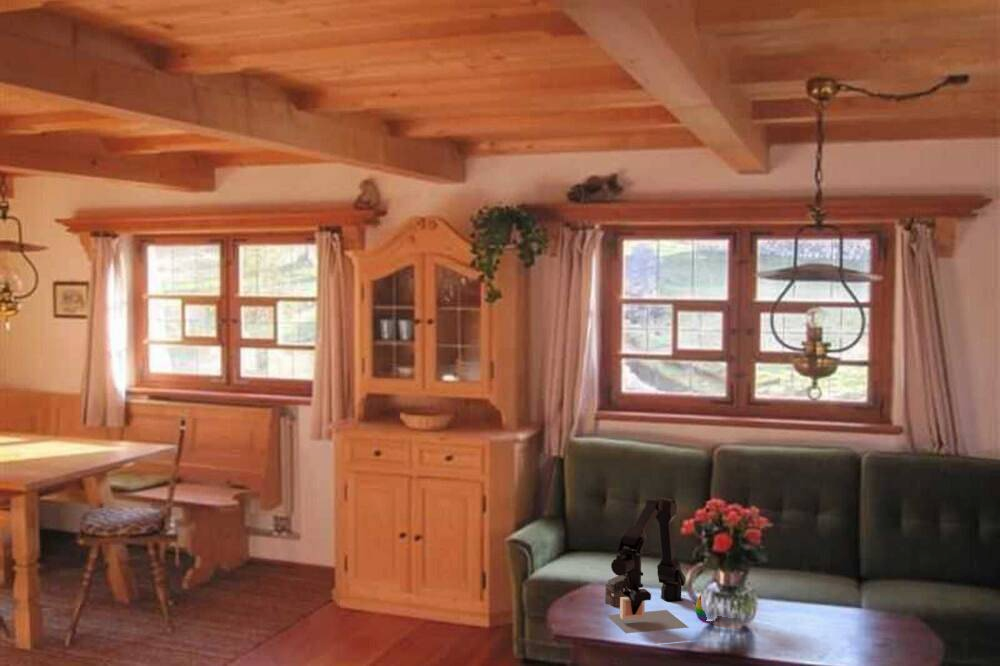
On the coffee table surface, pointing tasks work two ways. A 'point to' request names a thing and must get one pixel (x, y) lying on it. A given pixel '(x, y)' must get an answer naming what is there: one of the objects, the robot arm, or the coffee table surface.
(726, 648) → the coffee table surface
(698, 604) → the decorative egg
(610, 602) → the box
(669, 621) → the mat
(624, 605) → the plaque
